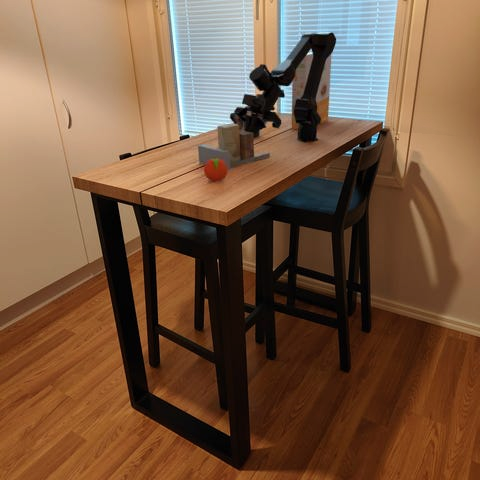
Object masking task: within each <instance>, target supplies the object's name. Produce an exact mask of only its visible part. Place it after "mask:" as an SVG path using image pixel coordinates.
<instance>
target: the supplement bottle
mask: <svg viewBox="0 0 480 480" xmlns="http://www.w3.org/2000/svg"><path fill="white" fill-rule="evenodd" d="M244 108H246V109H247V110H248V111H251V110H250V109H249V106H247V105H245V107H244ZM251 112H252V111H251ZM245 127H246V122H243V127H242V129H243V130H242V131H245ZM260 133H261V130H260V131H258V132H256V133H254V138H258V137H259V136H260Z"/></svg>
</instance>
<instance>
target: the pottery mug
mask: <svg viewBox="0 0 480 480" xmlns="http://www.w3.org/2000/svg"><path fill="white" fill-rule="evenodd" d="M229 118H230V120H231V122H233V124H237V125H239V130H240V129H241V128H243V121H241V120H240V119H239V117H238V116H237V115H236V114H235V113H234V112H231V113H230V115H229Z"/></svg>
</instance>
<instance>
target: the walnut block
mask: <svg viewBox="0 0 480 480" xmlns="http://www.w3.org/2000/svg"><path fill="white" fill-rule="evenodd" d="M239 133H240V155H241V160H244V159H247V158H251V157H254V156H255V146H254V145H255V143H254V142H255V141H254V138H255V137H254V134H253V133H252V132H247V131H243V130H240V129H239Z"/></svg>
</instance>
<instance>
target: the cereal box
mask: <svg viewBox="0 0 480 480" xmlns="http://www.w3.org/2000/svg"><path fill="white" fill-rule="evenodd" d="M332 54H333V52H332V53H331V55H330V56H329V57H328V58H327V59H326V62H325V66H324V69H323V73H322V77H321V80H320V84H319V88H318V92H317V95H316V102H317V106H318V107H317V113H318V114H319V116H320V117H321V122H320V124H318V125H317V126H319V125H321V123H322V124H324V122H325V123H326V121H327V122H329V110H330V92H331V91H330V90H331V89H330V88H331V69H332ZM312 59H313V53H312V51H311V52H310V51H309V52H308V54H307V55H306V56H305V58H304V59H303V60H302V62H301V63H300V64H299V66H298V67H297V69H296V75H295V77H294V79H293V81H292V83H291V85H292V86H291V89H292V91H291V95H292V96H291V130H295V129H298V128H299V123H296V121H295V117H294V109H293V108H294V106H295V101H296V99H300V98H301V97H302V96H303V93H304V89H305V86H306V82H307V78H308V74H309V70H310V67H311V63H312Z"/></svg>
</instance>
